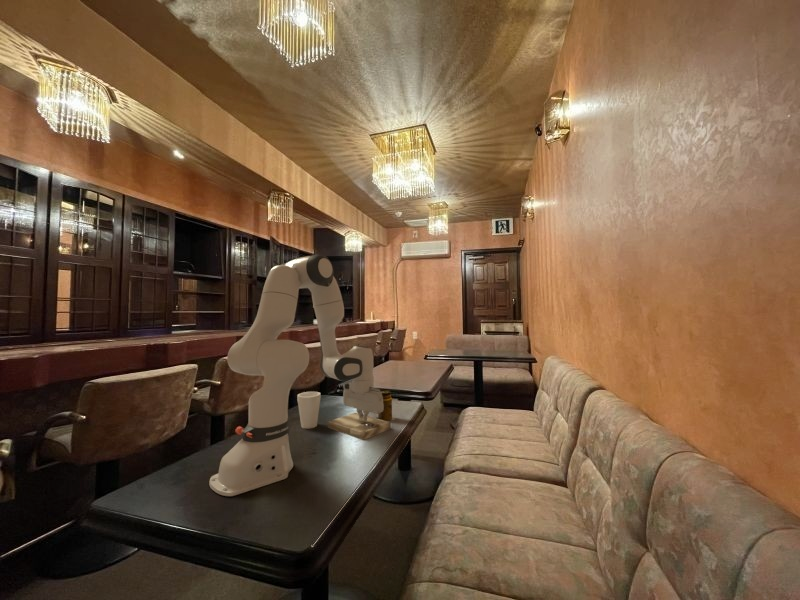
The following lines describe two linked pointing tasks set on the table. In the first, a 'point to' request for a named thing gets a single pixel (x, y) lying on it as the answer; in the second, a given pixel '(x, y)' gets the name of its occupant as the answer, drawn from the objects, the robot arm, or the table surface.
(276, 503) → the table surface
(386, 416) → the condiment
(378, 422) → the wooden board
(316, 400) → the foam cup
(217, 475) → the robot arm
